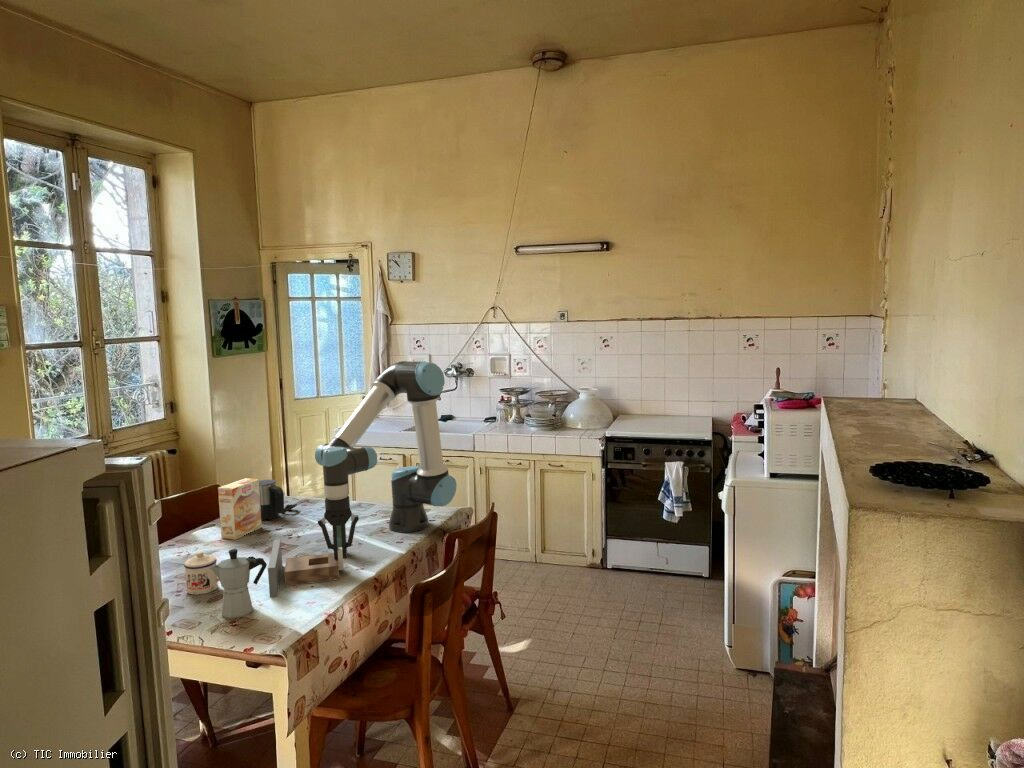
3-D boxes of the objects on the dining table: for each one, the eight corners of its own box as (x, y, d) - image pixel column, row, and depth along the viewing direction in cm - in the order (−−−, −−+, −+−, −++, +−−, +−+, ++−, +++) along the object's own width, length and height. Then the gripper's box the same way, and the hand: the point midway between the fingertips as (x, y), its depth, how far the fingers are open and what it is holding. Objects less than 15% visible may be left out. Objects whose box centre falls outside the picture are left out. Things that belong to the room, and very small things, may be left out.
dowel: (346, 551, 239) (344, 512, 238) (347, 554, 236) (344, 515, 234) (334, 552, 238) (332, 513, 237) (335, 556, 235) (332, 516, 233)
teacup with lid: (181, 596, 204) (178, 558, 203) (192, 584, 213) (189, 548, 212) (222, 593, 206) (220, 556, 204) (232, 581, 215) (229, 545, 213)
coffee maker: (212, 622, 186) (208, 559, 184) (212, 610, 194) (208, 548, 192) (270, 612, 192) (266, 549, 190) (268, 600, 200) (264, 540, 198)
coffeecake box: (236, 540, 254) (232, 488, 252) (220, 538, 256) (216, 487, 254) (262, 527, 268) (259, 478, 266) (247, 525, 271) (244, 477, 268)
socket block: (338, 565, 225) (337, 552, 225) (339, 579, 214) (338, 565, 213) (287, 571, 221) (286, 558, 221) (285, 586, 210) (284, 572, 209)
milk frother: (250, 520, 278) (247, 484, 276) (270, 508, 294) (268, 474, 292) (282, 521, 276) (280, 485, 274) (301, 509, 291) (299, 475, 289)
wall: (282, 565, 227) (280, 539, 226) (277, 596, 202) (275, 567, 201) (276, 566, 227) (274, 539, 226) (269, 597, 202) (267, 568, 201)
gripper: (357, 491, 222) (361, 561, 225) (315, 495, 219) (319, 566, 221) (358, 497, 215) (362, 570, 218) (315, 501, 211) (319, 575, 214)
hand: (340, 568), depth 219 cm, fingers closed
